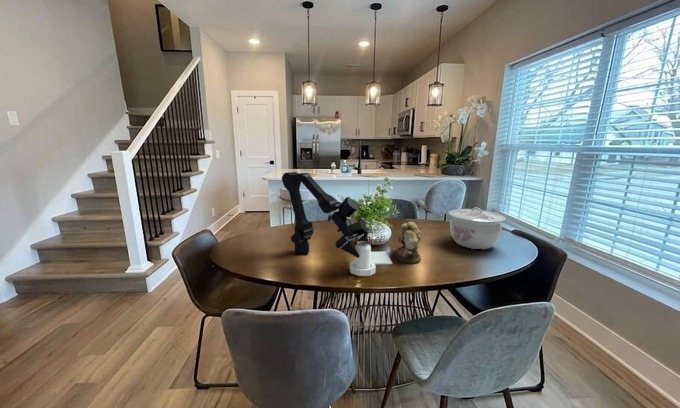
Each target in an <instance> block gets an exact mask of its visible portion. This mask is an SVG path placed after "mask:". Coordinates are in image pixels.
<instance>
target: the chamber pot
mask: <svg viewBox="0 0 680 408" xmlns="http://www.w3.org/2000/svg"><path fill="white" fill-rule="evenodd" d="M447 214H448V215H449V216H451V217H452V218H451V220H450V222H449V228H450V234H451V237H452V238H453V240H454V242H455V243H456V244H457V245H459V246H461V247H464V248H465V247H466V248H465V249H469V248H471V249H470V250H475V249H482V250H488V249H491V248H492V247H493V246H495V245H496V243H497V242H498V241H499V239H500V238H501V237H500V236H501V234H502V230H503V227H502V224H501V223H502V222H504V221H507V218H506V216H504V215H502V214H501V213H498V212H495V211H494V212H493V211H490V210H485V209H481V208H479V207H477V206H475V207H472V208H457V209H452V210H449V211H448V212H447Z"/></svg>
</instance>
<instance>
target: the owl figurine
mask: <svg viewBox="0 0 680 408" xmlns="http://www.w3.org/2000/svg"><path fill="white" fill-rule="evenodd" d="M397 240H398V242H399V243H400V244H402V245H401V247H399V248H397V249H395V250H394V252H393V256H394V257H395V259H396V260H398V261H399V262H400V263H405V264H407V265H410V264H411V265H416V264H419V263H421V260H422V257H421V256H420V254H419V253H418V252H419V251H418V248H419V243H420V241H421V240H422V238H421V230H420V229H419V228H418V225H417V224H416V223H415V222H413V221H408V222H407V223H406V222H405V223H402V224H401V226H400V231H399V232H398V235H397Z"/></svg>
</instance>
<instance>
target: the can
mask: <svg viewBox="0 0 680 408" xmlns="http://www.w3.org/2000/svg"><path fill="white" fill-rule="evenodd" d="M354 247H355V249H356V250H357V252H358V254H359V256H360V257H359V258H357V257H355V256H354V261H355V267H356V268H358V269H369V268H370V262H371V252H372V246H371V243H370V242H369V241H368V242H366V241H359V242H358V241H357V242H356V245H354Z"/></svg>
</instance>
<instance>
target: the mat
mask: <svg viewBox="0 0 680 408" xmlns="http://www.w3.org/2000/svg"><path fill="white" fill-rule="evenodd" d="M371 262H373V263H374V264H375V266H376V265H379V266H380V265H393V261H392V260H391V258H390V256H389V254H388V253H387V251H371Z"/></svg>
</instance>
